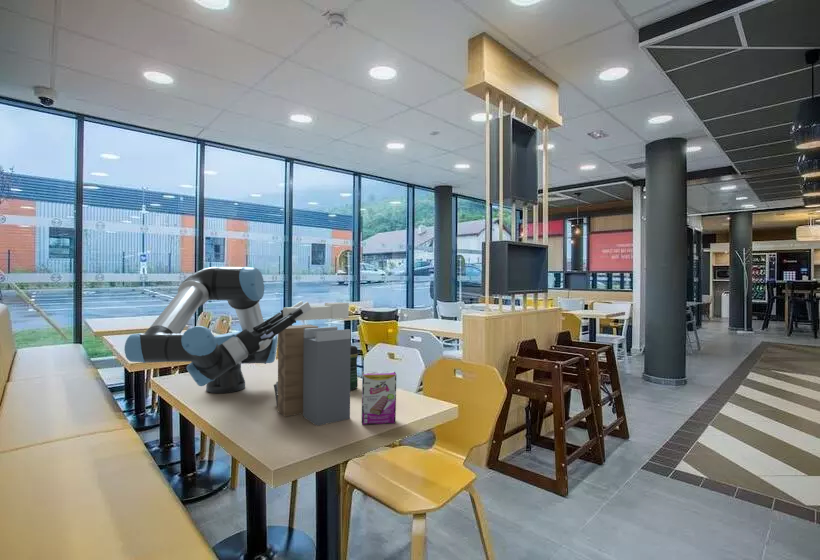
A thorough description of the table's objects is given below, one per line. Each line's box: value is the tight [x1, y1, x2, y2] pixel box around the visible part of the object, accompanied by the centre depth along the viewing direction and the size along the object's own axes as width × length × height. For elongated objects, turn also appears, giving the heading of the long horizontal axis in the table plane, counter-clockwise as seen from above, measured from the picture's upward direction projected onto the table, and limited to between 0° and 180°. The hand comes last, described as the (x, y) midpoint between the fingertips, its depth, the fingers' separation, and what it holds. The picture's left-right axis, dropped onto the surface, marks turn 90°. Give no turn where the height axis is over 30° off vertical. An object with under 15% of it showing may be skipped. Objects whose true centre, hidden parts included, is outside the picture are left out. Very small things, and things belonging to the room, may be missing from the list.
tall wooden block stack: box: [277, 324, 319, 417], centre depth 152 cm, size 7×12×30 cm, turn 127°
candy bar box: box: [360, 370, 397, 426], centre depth 141 cm, size 11×5×16 cm, turn 99°
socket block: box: [302, 326, 352, 426], centre depth 145 cm, size 11×12×30 cm
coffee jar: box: [350, 345, 359, 391], centre depth 183 cm, size 10×8×19 cm
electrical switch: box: [273, 381, 278, 406], centre depth 161 cm, size 9×5×9 cm, turn 141°
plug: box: [282, 301, 352, 322], centre depth 143 cm, size 6×22×5 cm, turn 127°
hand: (306, 304), depth 140 cm, fingers closed on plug, 4 cm apart
